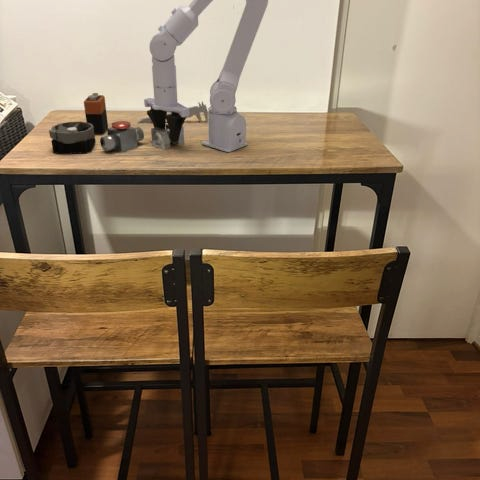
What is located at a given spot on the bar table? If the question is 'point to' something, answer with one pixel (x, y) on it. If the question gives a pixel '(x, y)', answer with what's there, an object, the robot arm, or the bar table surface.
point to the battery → (96, 112)
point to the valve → (121, 137)
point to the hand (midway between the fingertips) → (168, 139)
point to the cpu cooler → (72, 138)
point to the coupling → (164, 137)
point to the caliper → (192, 111)
